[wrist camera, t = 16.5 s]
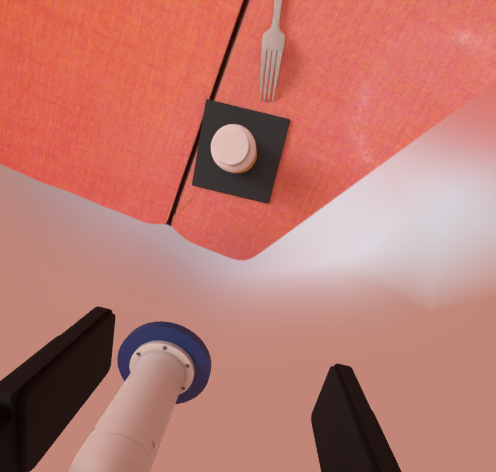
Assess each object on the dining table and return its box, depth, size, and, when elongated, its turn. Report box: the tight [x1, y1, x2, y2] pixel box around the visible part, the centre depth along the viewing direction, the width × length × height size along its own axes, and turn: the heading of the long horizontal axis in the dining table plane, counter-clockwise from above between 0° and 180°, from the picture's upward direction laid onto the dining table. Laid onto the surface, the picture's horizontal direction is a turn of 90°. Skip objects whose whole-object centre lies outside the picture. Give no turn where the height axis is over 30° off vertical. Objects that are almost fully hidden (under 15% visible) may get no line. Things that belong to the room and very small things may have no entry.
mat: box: [192, 99, 290, 203], centre depth 34 cm, size 12×12×1 cm
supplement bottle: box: [211, 124, 257, 173], centre depth 30 cm, size 5×5×10 cm
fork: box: [260, 0, 285, 102], centre depth 30 cm, size 3×21×3 cm, turn 173°
